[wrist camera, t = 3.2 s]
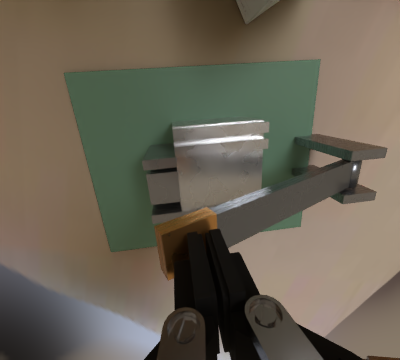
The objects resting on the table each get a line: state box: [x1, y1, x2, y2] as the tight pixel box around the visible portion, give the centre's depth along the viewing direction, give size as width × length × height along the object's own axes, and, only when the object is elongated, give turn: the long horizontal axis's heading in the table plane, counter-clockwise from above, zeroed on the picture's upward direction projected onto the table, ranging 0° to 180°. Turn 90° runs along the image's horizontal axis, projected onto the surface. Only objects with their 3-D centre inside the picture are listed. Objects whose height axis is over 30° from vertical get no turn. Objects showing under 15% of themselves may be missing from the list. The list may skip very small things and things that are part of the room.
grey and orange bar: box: [154, 159, 362, 281], centre depth 14 cm, size 3×19×1 cm, turn 94°
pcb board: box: [64, 59, 321, 252], centre depth 24 cm, size 20×25×1 cm
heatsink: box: [142, 116, 387, 224], centre depth 20 cm, size 10×19×8 cm, turn 94°
